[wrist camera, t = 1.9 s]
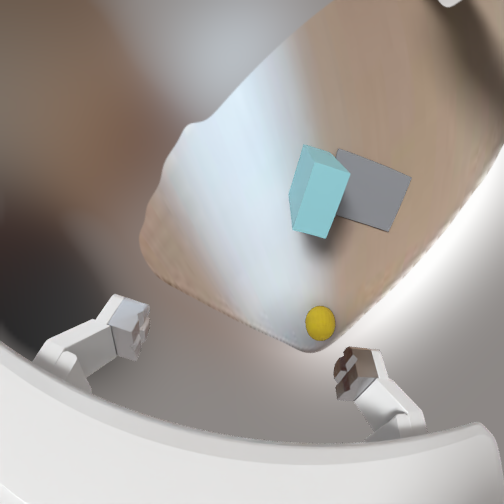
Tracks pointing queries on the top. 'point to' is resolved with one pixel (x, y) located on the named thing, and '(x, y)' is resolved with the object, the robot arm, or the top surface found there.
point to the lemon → (320, 323)
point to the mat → (371, 191)
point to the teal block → (316, 191)
